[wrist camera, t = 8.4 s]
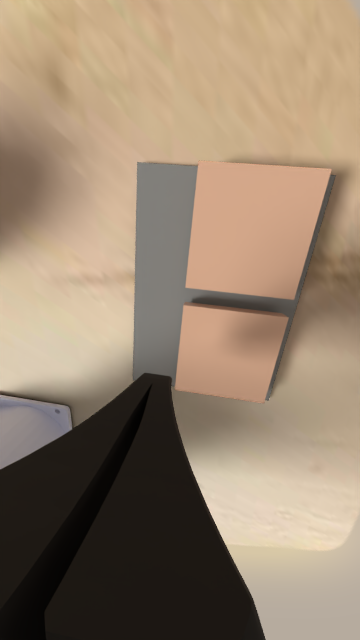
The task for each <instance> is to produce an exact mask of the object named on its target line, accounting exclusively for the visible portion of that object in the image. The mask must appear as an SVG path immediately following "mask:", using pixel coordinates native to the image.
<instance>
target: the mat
mask: <svg viewBox="0 0 360 640" xmlns="http://www.w3.org/2000/svg"><path fill="white" fill-rule="evenodd" d="M197 171H198V166H187V165H172V164H157V163H141V162H137V203H136V252H135V302H134V351H133V380H137V379H138V378H139V377H140V376H141V375H142V374H143V373H151V374H158V375H165V376H170V377H171V378H172V386H174V387H175V382H176V373H177V363H178V353H179V344H180V334H181V325H182V315H183V305H184V303H185V302H191V303H200V304H208V305H217V306H225V307H234V308H242V309H251V310H259V311H268V312H276V313H283V314H284V315H286V316H287V317H289V319H288V322H287V326H286V329H285V332H284V336H283V339H282V343H281V346H280V350H279V353H278V357H277V360H276V364H275V367H274V370H273V374H272V377H271V381H270V384H269V388H268V391H267V395H266V398H265V400H267V401H269V398H270V394H271V391H272V388H273V384H274V381H275V378H276V374H277V371H278V367H279V364H280V361H281V357H282V354H283V351H284V347H285V344H286V341H287V337H288V334H289V331H290V327H291V324H292V320H293V317H294V314H295V310H296V307H297V304H298V300H299V297H300V294H301V290H302V287H303V284H304V280H305V277H306V273H307V270H308V267H309V263H310V260H311V257H312V253H313V250H314V247H315V243H316V240H317V237H318V233H319V230H320V226H321V223H322V220H323V216H324V213H325V210H326V206H327V203H328V200H329V196H330V193H331V190H332V186H333V183H334V179H335V176H336V175H330V177H329V181H328V184H327V188H326V191H325V194H324V198H323V201H322V205H321V208H320V212H319V215H318V219H317V222H316V225H315V229H314V232H313V236H312V239H311V243H310V246H309V250H308V253H307V257H306V260H305V263H304V267H303V270H302V274H301V277H300V281H299V284H298V288H297V291H296V294H295V298H294V300H291V299H282V298H273V297H264V296H255V295H247V294H238V293H229V292H220V291H211V290H202V289H193V288H185V286H186V276H187V267H188V257H189V247H190V238H191V228H192V219H193V209H194V199H195V190H196V180H197Z"/></svg>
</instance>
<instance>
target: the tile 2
mask: <svg viewBox="0 0 360 640" xmlns="http://www.w3.org/2000/svg"><path fill="white" fill-rule="evenodd" d="M331 170H332V169H324V168H309V167H293V166H277V165H261V164H245V163H229V162H214V161H198V171H197V180H196V190H195V199H194V209H193V219H192V228H191V238H190V247H189V257H188V267H187V276H186V286H185V288H193V289H202V290H211V291H220V292H229V293H238V294H247V295H255V296H264V297H273V298H282V299H291V300H294V298H295V294H296V291H297V288H298V284H299V281H300V277H301V274H302V270H303V267H304V263H305V260H306V257H307V253H308V250H309V246H310V243H311V239H312V236H313V232H314V229H315V225H316V222H317V219H318V215H319V212H320V208H321V205H322V201H323V198H324V194H325V191H326V188H327V184H328V181H329V177H330V174H331Z"/></svg>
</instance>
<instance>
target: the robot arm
mask: <svg viewBox="0 0 360 640" xmlns="http://www.w3.org/2000/svg"><path fill="white" fill-rule="evenodd" d="M171 386H172V378H171V377H170V376H165V375H158V374H151V373H143V374H142V375H141V376H140V377H139V378H138V379H137V380H135V381H134V382H133V383H132V384H131V385H130V386H129V387H128V388H127V389H125V390H124V391H123V392H122V393H121V394H119V395H118V396H117V397H116V398H115V399H113V400H112V401H111V402H110V403H108V404H107V405H106V406H104V407H103V408H102V409H100V410H99V411H98V412H97V413H95V414H94V415H92V416H91V417H90V418H88V419H87V420H85V421H84V422H82V423H81V424H79V425H78V426H76V427H75V428H73V429H72V422H71V413H70V408H69V407H68V406H65V405H59V404H53V403H47V402H41V401H35V400H29V399H23V398H17V397H11V396H5V395H0V640H266V639H265V636H264V633H263V629H262V626H261V623H260V620H259V616H258V613H257V610H256V607H255V604H254V601H253V598H252V596H251V594H250V592H249V590H248V588H247V586H246V584H245V582H244V580H243V578H242V576H241V574H240V573H239V571H238V569H237V567H236V565H235V563H234V561H233V559H232V557H231V555H230V553H229V551H228V549H227V547H226V545H225V543H224V541H223V539H222V537H221V535H220V533H219V530H218V528H217V526H216V524H215V522H214V520H213V518H212V516H211V513H210V511H209V509H208V507H207V505H206V502H205V500H204V498H203V495H202V493H201V490H200V488H199V486H198V483H197V481H196V479H195V476H194V474H193V471H192V469H191V466H190V463H189V461H188V458H187V455H186V452H185V449H184V446H183V443H182V440H181V436H180V433H179V429H178V425H177V421H176V417H175V413H174V407H173V401H172V392H171Z"/></svg>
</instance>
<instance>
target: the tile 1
mask: <svg viewBox="0 0 360 640" xmlns="http://www.w3.org/2000/svg"><path fill="white" fill-rule="evenodd" d="M288 319H289V317H287V316H286V315H284V314H283V313H276V312H268V311H259V310H251V309H242V308H234V307H225V306H217V305H208V304H200V303H191V302H185V303H184V305H183V315H182V325H181V334H180V344H179V353H178V363H177V373H176V382H175V390H179V391H186V392H192V393H199V394H206V395H212V396H219V397H225V398H232V399H238V400H245V401H252V402H258V403H264V401H265V398H266V395H267V391H268V388H269V384H270V381H271V377H272V374H273V370H274V367H275V364H276V360H277V357H278V353H279V350H280V346H281V343H282V339H283V336H284V332H285V329H286V326H287V322H288Z"/></svg>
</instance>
